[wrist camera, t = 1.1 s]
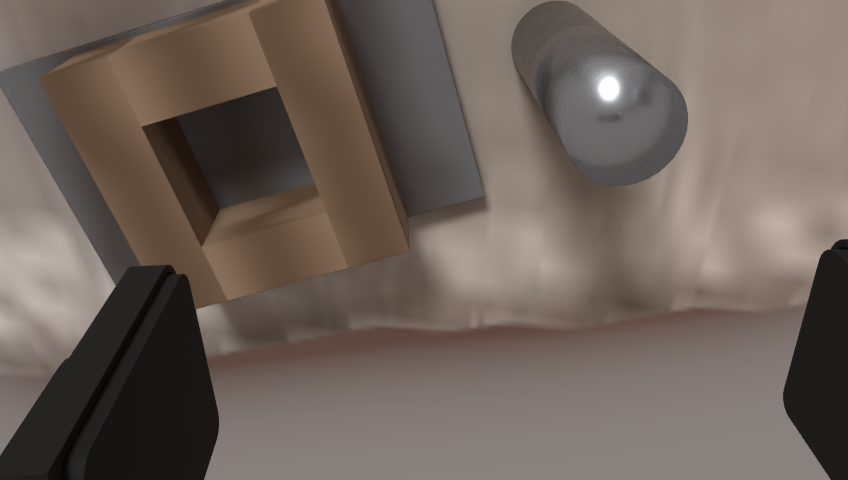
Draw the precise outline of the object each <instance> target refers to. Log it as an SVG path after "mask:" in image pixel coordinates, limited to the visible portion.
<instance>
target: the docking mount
mask: <svg viewBox="0 0 848 480" xmlns="http://www.w3.org/2000/svg"><path fill="white" fill-rule="evenodd" d="M0 87H1V89H2V91H3V92H4V94H5V96H6V97H7V99H8V101H9V103H10V104H11V106H12V108H13V109H14V111H15V113H16V115H17V116H18V118H19V120H20V122H21V123H22V125H23V127H24V128H25V130H26V132H27V134H28V135H29V137H30V139H31V140H32V142H33V144H34V146H35V147H36V149H37V151H38V153H39V154H40V156H41V158H42V159H43V161H44V163H45V165H46V166H47V168H48V170H49V171H50V173H51V175H52V177H53V178H54V180H55V182H56V183H57V185H58V187H59V189H60V190H61V192H62V194H63V196H64V197H65V199H66V201H67V202H68V204H69V206H70V208H71V209H72V211H73V213H74V214H75V216H76V218H77V220H78V221H79V223H80V225H81V227H82V228H83V230H84V232H85V233H86V235H87V237H88V239H89V240H90V242H91V244H92V245H93V247H94V249H95V251H96V252H97V254H98V256H99V257H100V259H101V261H102V263H103V264H104V266H105V268H106V270H107V271H108V273H109V275H110V276H111V278H112V280H113V282H114V283H115V285H117V284H118V282H119V281H120V279H121V278H122V276H123V275H124V273H125V272H126V270H127V269H128V268H129V267H131V266H149V265H171V266H172V267H173V268H174V270H175V271H176V274H185V275H186V276H187V277H188V280H189V283H190V287H191V291H192V296H193V301H194V305H195V309H198V308H202V307H206V306H209V305H213V304H217V303H221V302H224V301H228V300H232V299H235V298H239V297H243V296H246V295H250V294H254V293H257V292H261V291H265V290H268V289H272V288H276V287H280V286H283V285H287V284H291V283H294V282H298V281H302V280H305V279H309V278H313V277H316V276H320V275H324V274H328V273H331V272H335V271H339V270H342V269H346V268H350V267H353V266H357V265H361V264H364V263H368V262H372V261H376V260H379V259H383V258H387V257H390V256H394V255H398V254H401V253H405V252H409V251H410V246H409V225H408V217H410V216H414V215H417V214H421V213H425V212H428V211H432V210H435V209H439V208H443V207H446V206H450V205H454V204H457V203H461V202H464V201H468V200H472V199H475V198H479V197H483V196H484V192H483V188H482V184H481V181H480V177H479V173H478V170H477V166H476V162H475V159H474V155H473V151H472V148H471V144H470V140H469V136H468V133H467V129H466V125H465V122H464V118H463V114H462V111H461V107H460V103H459V100H458V96H457V92H456V88H455V85H454V81H453V77H452V74H451V70H450V66H449V63H448V59H447V55H446V52H445V48H444V44H443V41H442V37H441V33H440V29H439V26H438V22H437V18H436V15H435V11H434V7H433V4H432V0H226V1H223V2H219V3H216V4H213V5H210V6H207V7H203V8H200V9H197V10H194V11H191V12H187V13H184V14H181V15H178V16H175V17H171V18H168V19H165V20H162V21H159V22H156V23H152V24H149V25H146V26H143V27H140V28H136V29H133V30H130V31H127V32H124V33H120V34H117V35H114V36H111V37H108V38H104V39H101V40H98V41H95V42H92V43H89V44H85V45H82V46H79V47H76V48H73V49H69V50H66V51H63V52H60V53H57V54H53V55H50V56H47V57H44V58H41V59H38V60H34V61H31V62H28V63H25V64H22V65H18V66H15V67H12V68H9V69H6V70H3V71H1V72H0Z"/></svg>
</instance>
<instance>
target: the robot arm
mask: <svg viewBox="0 0 848 480" xmlns="http://www.w3.org/2000/svg"><path fill="white" fill-rule="evenodd" d="M783 401H784V407H785V409H786V413H787V414H788V416H789V418H790V419H791V421H792V422H793V424H794V425H795V427H796V428H797V430H798V431H799V433H800V434H801V436H802V437H803V439H804V440H805V442H806V443H807V445H808V446H809V448H810V449H811V451H812V452H813V454H814V455H815V457H816V458H817V460H818V461H819V463H820V464H821V466H822V467H823V469H824V470H825V472H826V473H827V474H828V476H829V477H830V479H831V480H848V239H843V240H839V241H837V242H836V243H835V244H834V245H833V246H832V248H831V250H826V251H824V252H823V254H822V255H821V257H820V259H819V263H818V266H817V270H816V274H815V277H814V281H813V285H812V288H811V292H810V296H809V299H808V303H807V307H806V310H805V314H804V318H803V321H802V325H801V329H800V332H799V336H798V340H797V343H796V347H795V351H794V354H793V358H792V362H791V365H790V369H789V373H788V376H787V380H786V384H785V387H784V392H783ZM218 430H219V416H218V409H217V405H216V400H215V396H214V391H213V386H212V382H211V377H210V373H209V368H208V364H207V359H206V355H205V350H204V346H203V341H202V337H201V332H200V328H199V323H198V319H197V314H196V310H195V305H194V301H193V296H192V291H191V287H190V283H189V280H188V277H187V276H186V275H185V274H176V271H175V270H174V268H173V267H172V266H171V265H149V266H131V267H129V268H128V269H127V270H126V272H125V273H124V275H123V276H122V278H121V279H120V281H119V282H118V284H117V285H116V287H115V288H114V290H113V292H112V293H111V295H110V296H109V298H108V299H107V301H106V302H105V304H104V305H103V307H102V308H101V310H100V311H99V313H98V314H97V316H96V318H95V319H94V321H93V322H92V324H91V325H90V327H89V328H88V330H87V331H86V333H85V334H84V336H83V337H82V339H81V340H80V342H79V344H78V345H77V347H76V348H75V350H74V351H73V353H72V354H71V356H70V357H69V358H68V359H66V360H65V361H64V362H63V363H62V364H61V365H60V366H59V368H58V369H57V371H56V372H55V374H54V375H53V377H52V378H51V380H50V381H49V383H48V384H47V386H46V388H45V389H44V390H43V392H42V394H41V395H40V396H39V398H38V400H37V401H36V402H35V404H34V406H33V407H32V409H31V410H30V412H29V413H28V415H27V416H26V418H25V419H24V421H23V422H22V424H21V425H20V427H19V428H18V430H17V431H16V433H15V434H14V436H13V437H12V439H11V440H10V442H9V443H8V445H7V446H6V448H5V449H4V451H3V453H2V454H1V455H0V480H204V478H205V474H206V472H207V468H208V465H209V462H210V459H211V456H212V453H213V449H214V446H215V443H216V440H217V436H218Z"/></svg>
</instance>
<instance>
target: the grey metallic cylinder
mask: <svg viewBox="0 0 848 480" xmlns="http://www.w3.org/2000/svg"><path fill="white" fill-rule="evenodd" d="M511 49H512V57H513V60H514V63H515V65H516V67H517V69H518V71H519V72H520V74H521V76H522V77H523V79H524V81H525V82H526V84H527V86H528V87H529V89H530V91H531V92H532V94H533V96H534V98H535V99H536V101H537V103H538V104H539V106H540V108H541V109H542V111H543V113H544V114H545V116H546V118H547V119H548V121H549V123H550V124H551V126H552V128H553V129H554V131H555V133H556V134H557V136H558V138H559V140H560V141H561V143H562V145H563V146H564V148H565V150H566V151H567V153H568V155H569V156H570V158H571V160H572V161H573V163H574V164H575V166H576V167H577V168H578V169H579V170H580V171H581V172H582V173H583V174H584V175H585V176H587V177H589V178H590V179H592V180H594V181H596V182H599V183H602V184H606V185H616V186H621V185H629V184H634V183H638V182H641V181H643V180H645V179H648V178H650V177H652V176H653V175H655V174H657V173H658V172H659V171H661V170H662V169H663V168H664V167H665V166H666V165H667V164H669V163H670V161H671V160H672V159H673V158H674V157H675V155H676V154H677V152H678V151H679V149H680V147H681V145H682V143H683V141H684V138H685V135H686V131H687V125H688V112H687V106H686V103H685V100H684V97H683V96H682V94H681V92H680V90H679V89H678V88H677V86H676V85H675V84H674V83H673V82H672V81H671V80H669V79H668V78H667V77H666V76H664V75H663V74H662V73H661V72H659V71H658V70H657V69H656V68H654V67H653V66H652V65H651V64H649V63H648V62H647V61H646V60H644V59H643V58H642V57H641V56H639V55H638V54H637V53H636V52H634V51H633V50H632V49H631V48H629V47H628V46H627V45H626V44H624V43H623V42H622V41H621V40H619V39H618V38H617V37H616V36H614V35H613V34H612V33H611V32H609V31H608V30H607V29H606V28H604V27H603V26H602V25H601V24H599V23H598V22H597V21H596V20H594V19H593V18H592V17H591V16H589V15H588V14H587V13H586V12H584V11H583V10H582V9H581V8H579V7H578V6H576V5H574V4H572V3H569V2H564V1H550V2H546V3H543V4H540V5H538V6H536V7H534V8H533V9H532V10H530V11H529V12H528V13H527V14H526V15H525V16H524V17H523V18H522V19H521V20H520V22H519V23H518V25H517V27H516V29H515V31H514V34H513V38H512V45H511Z"/></svg>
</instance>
